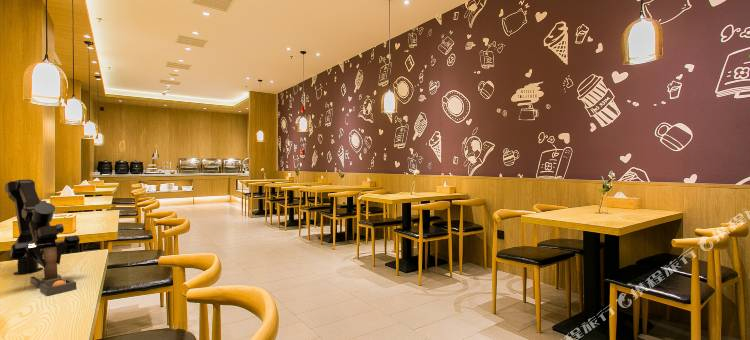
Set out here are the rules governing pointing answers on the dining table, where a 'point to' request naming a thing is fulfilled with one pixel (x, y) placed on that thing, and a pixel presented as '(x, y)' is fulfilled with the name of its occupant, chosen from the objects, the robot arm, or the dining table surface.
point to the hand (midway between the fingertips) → (51, 265)
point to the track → (37, 281)
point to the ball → (58, 283)
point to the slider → (50, 266)
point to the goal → (58, 288)
